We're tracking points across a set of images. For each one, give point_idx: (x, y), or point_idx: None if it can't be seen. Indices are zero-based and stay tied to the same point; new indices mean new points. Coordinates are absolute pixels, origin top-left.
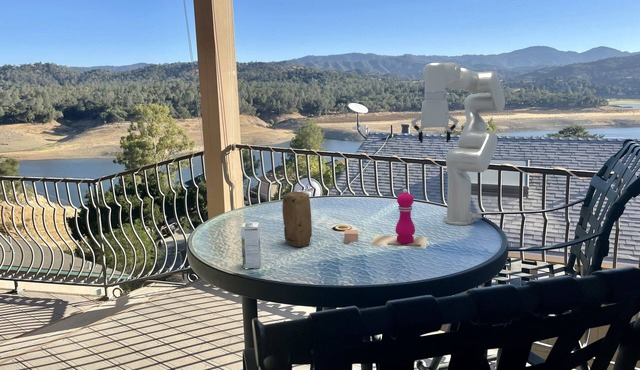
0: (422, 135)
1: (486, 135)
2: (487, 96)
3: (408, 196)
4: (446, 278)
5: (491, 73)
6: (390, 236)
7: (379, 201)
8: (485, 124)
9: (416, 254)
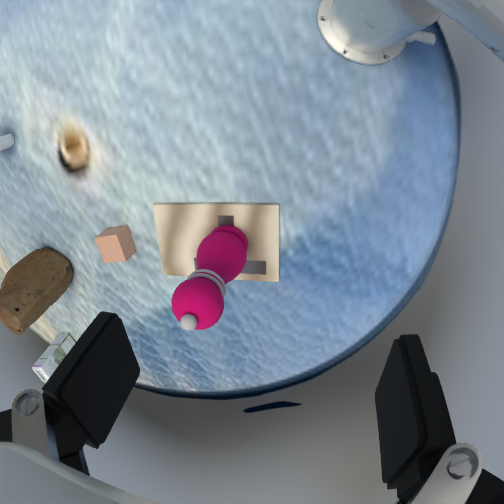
0: (100, 403)
1: None
2: None
3: (206, 327)
4: (310, 377)
5: None
6: (187, 210)
7: None
8: None
9: (261, 300)
